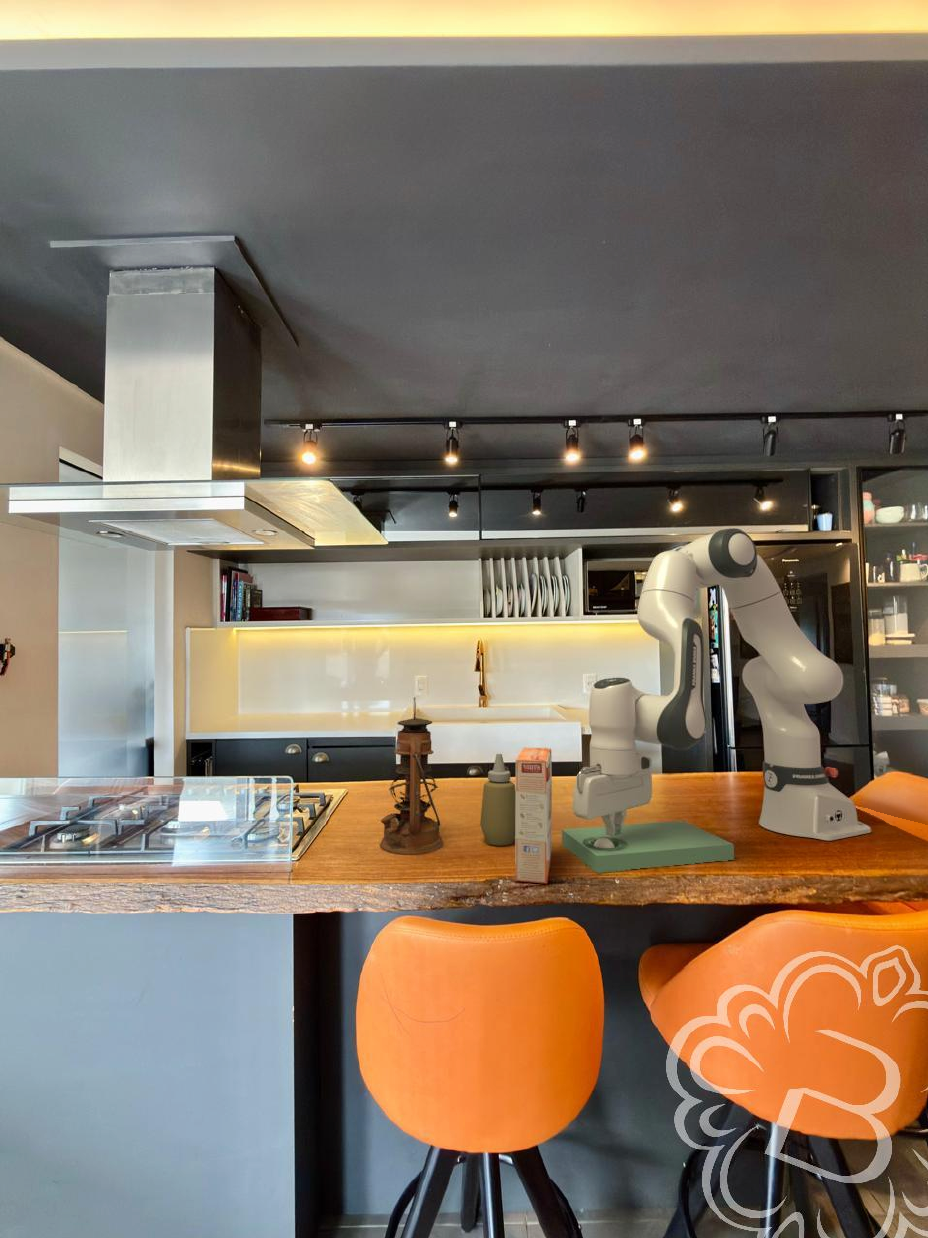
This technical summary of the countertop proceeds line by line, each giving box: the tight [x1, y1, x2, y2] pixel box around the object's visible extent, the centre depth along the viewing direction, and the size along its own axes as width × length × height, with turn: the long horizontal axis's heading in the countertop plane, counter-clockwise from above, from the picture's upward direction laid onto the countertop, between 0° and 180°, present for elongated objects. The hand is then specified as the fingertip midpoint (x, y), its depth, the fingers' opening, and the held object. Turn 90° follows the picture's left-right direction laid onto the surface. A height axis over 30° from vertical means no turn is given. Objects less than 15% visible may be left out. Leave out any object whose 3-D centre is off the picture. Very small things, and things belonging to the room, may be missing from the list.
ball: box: [594, 838, 615, 848], centre depth 108 cm, size 4×4×4 cm
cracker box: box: [514, 747, 553, 885], centre depth 104 cm, size 14×6×21 cm, turn 168°
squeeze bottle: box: [479, 753, 516, 846], centre depth 119 cm, size 8×8×18 cm
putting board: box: [561, 820, 735, 874], centre depth 112 cm, size 28×16×3 cm, turn 103°
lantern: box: [379, 697, 444, 856], centre depth 119 cm, size 17×13×30 cm
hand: (614, 834), depth 110 cm, fingers closed
